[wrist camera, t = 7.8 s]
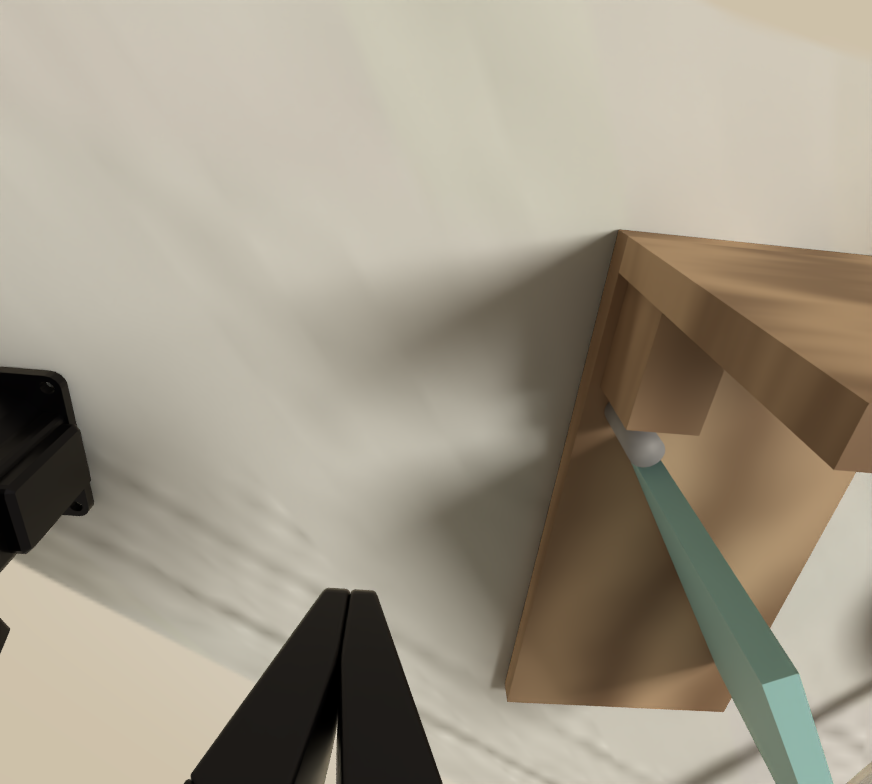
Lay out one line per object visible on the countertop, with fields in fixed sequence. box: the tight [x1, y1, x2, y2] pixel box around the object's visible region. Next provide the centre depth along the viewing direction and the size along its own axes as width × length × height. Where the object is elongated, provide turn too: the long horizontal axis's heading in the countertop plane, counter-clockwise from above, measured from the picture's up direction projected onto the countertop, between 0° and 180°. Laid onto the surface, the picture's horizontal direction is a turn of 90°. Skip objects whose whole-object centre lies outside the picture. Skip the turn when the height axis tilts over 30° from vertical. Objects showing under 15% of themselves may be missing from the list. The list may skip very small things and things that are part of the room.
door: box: [604, 402, 833, 784], centre depth 20 cm, size 1×17×10 cm, turn 27°
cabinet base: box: [505, 230, 872, 712], centre depth 19 cm, size 12×24×12 cm, turn 174°
